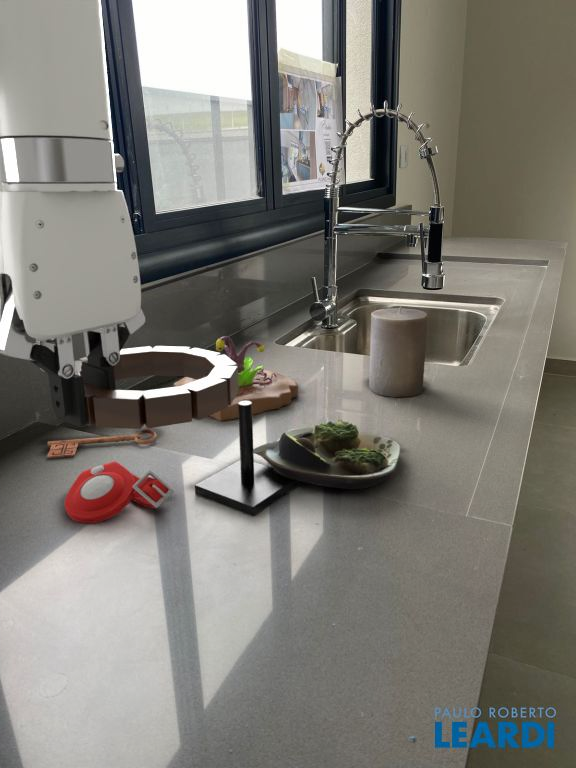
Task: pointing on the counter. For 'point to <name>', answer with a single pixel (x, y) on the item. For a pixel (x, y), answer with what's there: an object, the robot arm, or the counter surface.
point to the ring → (163, 404)
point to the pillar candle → (397, 351)
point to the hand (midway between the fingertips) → (86, 415)
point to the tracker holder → (112, 492)
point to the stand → (246, 476)
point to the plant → (253, 384)
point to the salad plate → (332, 456)
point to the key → (76, 442)
